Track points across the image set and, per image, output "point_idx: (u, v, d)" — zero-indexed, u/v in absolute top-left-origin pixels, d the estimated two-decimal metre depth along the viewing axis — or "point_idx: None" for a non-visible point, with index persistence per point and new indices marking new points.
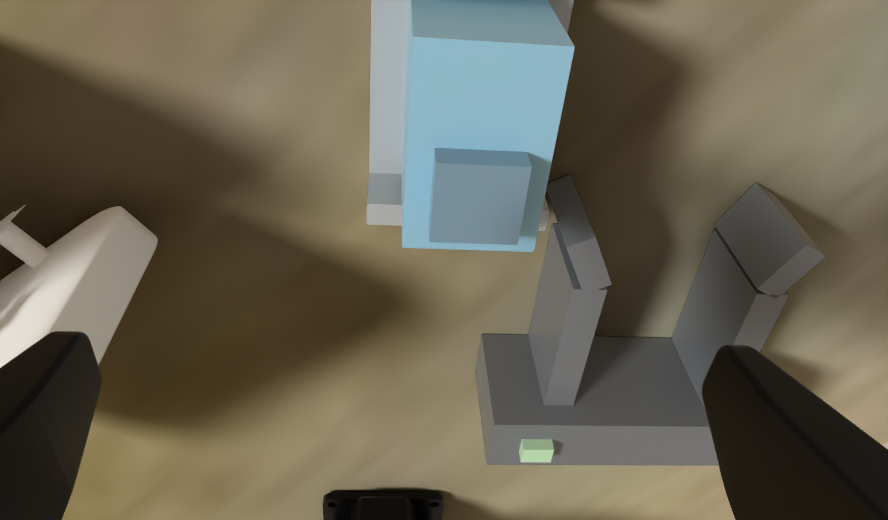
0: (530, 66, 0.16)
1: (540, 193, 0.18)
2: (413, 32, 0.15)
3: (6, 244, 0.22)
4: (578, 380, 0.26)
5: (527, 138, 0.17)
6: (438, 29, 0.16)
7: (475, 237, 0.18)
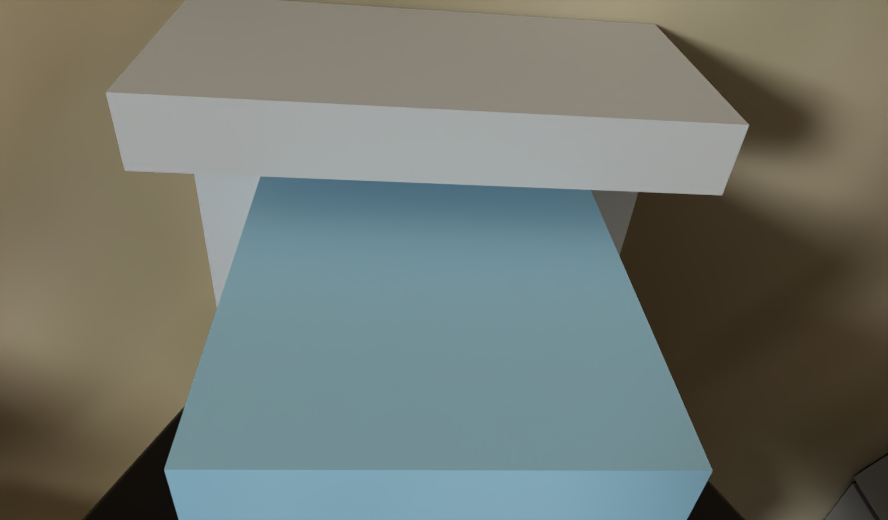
0: (564, 513, 0.05)
1: None
2: (180, 431, 0.05)
3: None
4: None
5: None
6: (273, 397, 0.05)
7: None
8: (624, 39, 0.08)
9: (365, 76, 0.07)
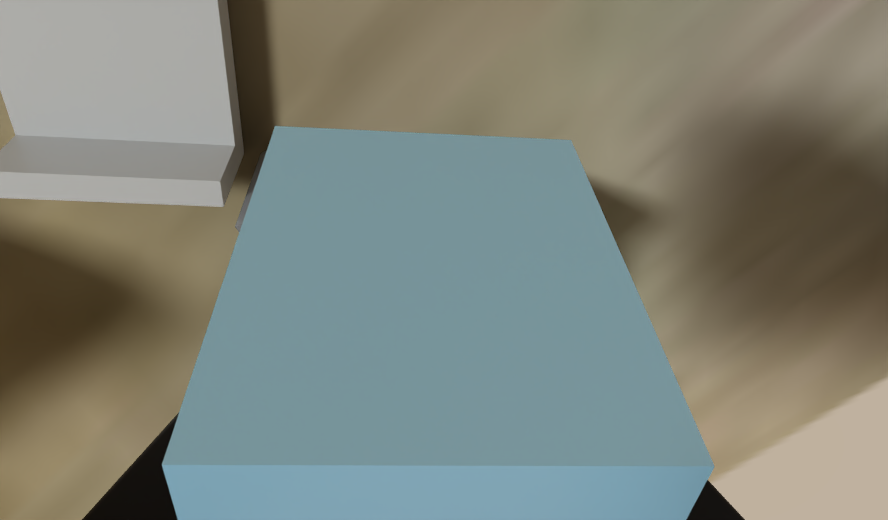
0: (564, 508, 0.05)
1: None
2: (178, 426, 0.05)
3: None
4: None
5: None
6: (272, 393, 0.05)
7: None
8: None
9: None
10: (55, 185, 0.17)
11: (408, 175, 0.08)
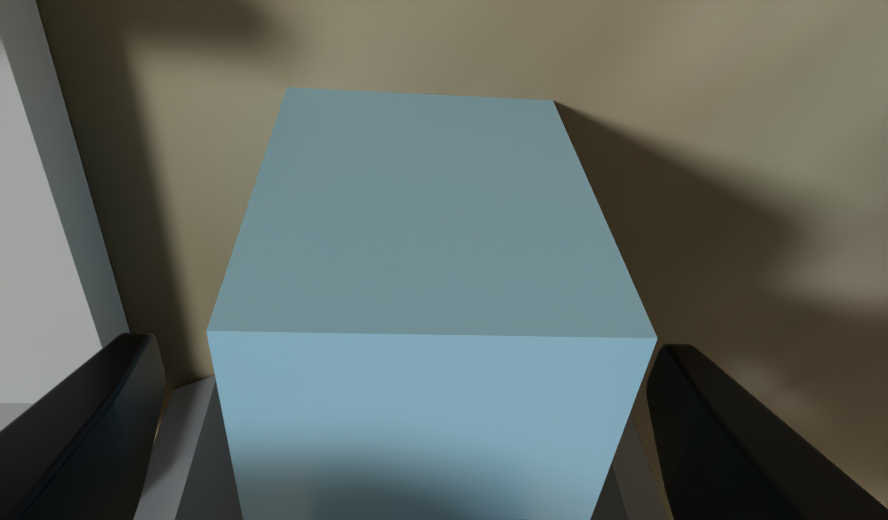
0: (536, 379, 0.06)
1: None
2: (217, 305, 0.06)
3: None
4: None
5: (529, 499, 0.07)
6: (293, 283, 0.06)
7: None
8: None
9: None
10: None
11: (406, 125, 0.09)
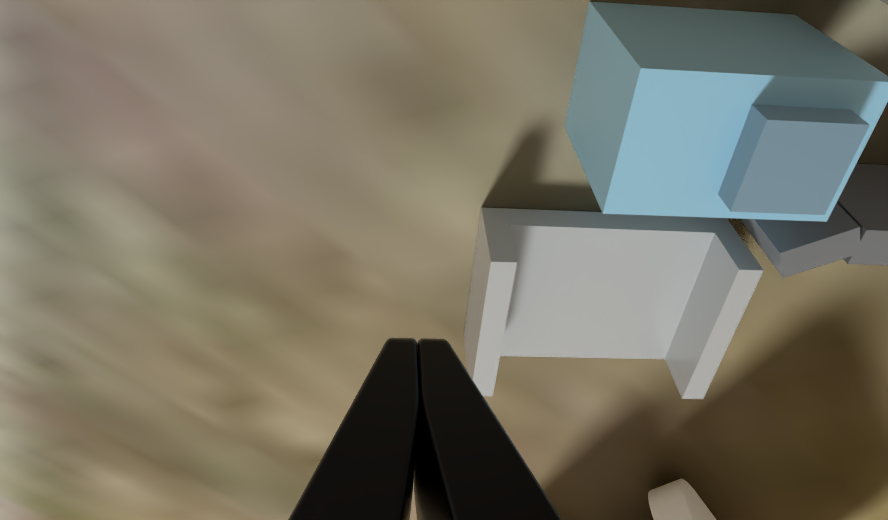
0: (652, 111, 0.15)
1: (813, 83, 0.15)
2: (600, 206, 0.17)
3: None
4: None
5: (735, 105, 0.15)
6: (602, 179, 0.17)
7: (838, 170, 0.15)
8: (481, 234, 0.22)
9: (475, 335, 0.23)
10: (706, 365, 0.23)
11: (582, 89, 0.19)
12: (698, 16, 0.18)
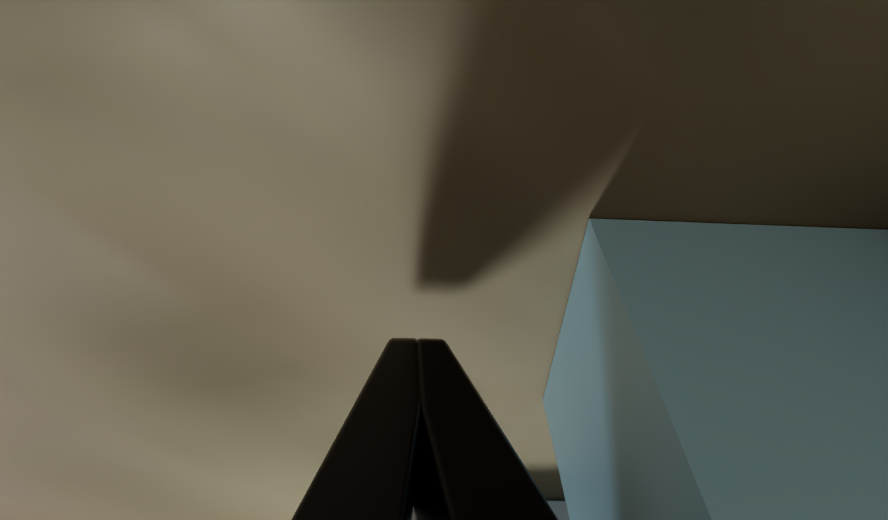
0: None
1: None
2: None
3: None
4: None
5: None
6: None
7: None
8: None
9: None
10: None
11: (575, 381, 0.10)
12: (810, 261, 0.09)
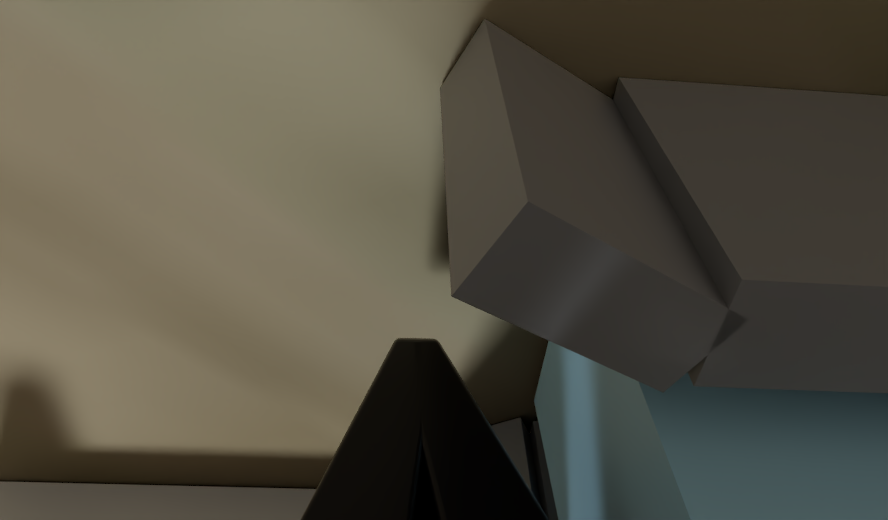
0: None
1: None
2: None
3: None
4: None
5: None
6: None
7: None
8: None
9: None
10: None
11: (564, 383, 0.10)
12: None
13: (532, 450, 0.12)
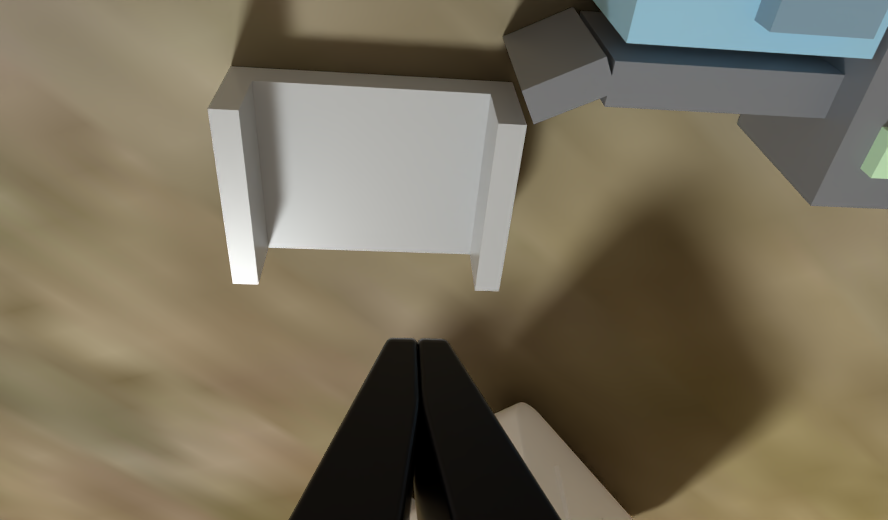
0: None
1: None
2: (623, 37, 0.15)
3: None
4: (788, 75, 0.17)
5: None
6: (625, 6, 0.15)
7: None
8: None
9: None
10: (492, 248, 0.21)
11: None
12: None
13: None
